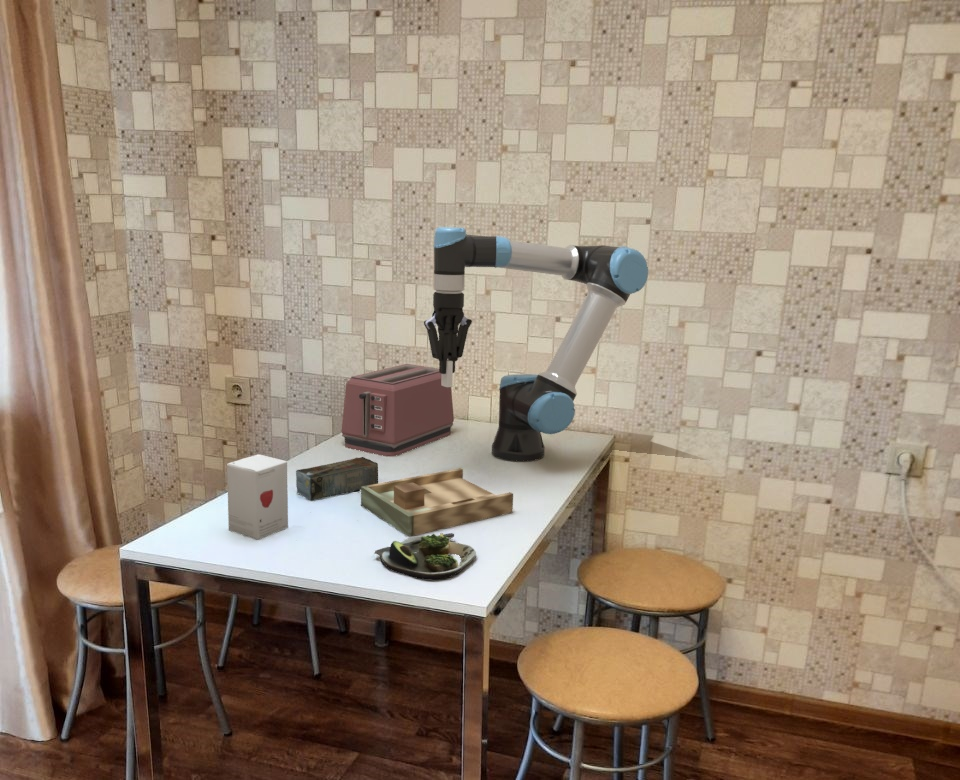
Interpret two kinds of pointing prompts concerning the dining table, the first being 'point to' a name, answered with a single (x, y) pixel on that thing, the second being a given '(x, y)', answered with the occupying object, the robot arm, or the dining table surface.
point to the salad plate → (426, 556)
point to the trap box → (435, 503)
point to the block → (409, 496)
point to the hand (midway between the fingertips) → (446, 386)
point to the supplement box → (257, 496)
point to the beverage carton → (336, 478)
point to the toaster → (396, 410)
